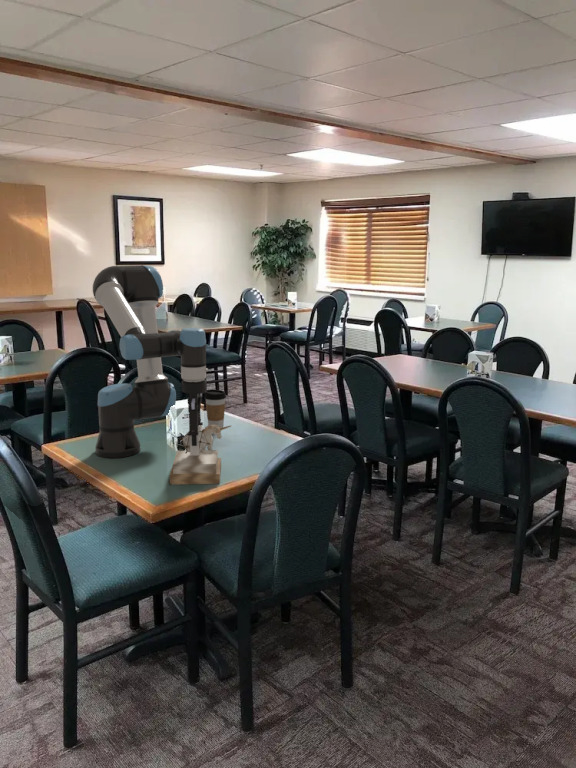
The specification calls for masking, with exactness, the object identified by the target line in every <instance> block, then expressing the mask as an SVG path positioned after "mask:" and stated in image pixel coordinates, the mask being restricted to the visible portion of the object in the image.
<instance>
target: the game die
mask: <svg viewBox="0 0 576 768" xmlns="http://www.w3.org/2000/svg"><path fill="white" fill-rule="evenodd" d="M203 431H204V429H203V430H202V431H200V430H198V433H199V453H200V452H201V451H202V450H203V448H204V447H205V446H206V445H207V444H208V445H210V443H208V442H207V440H206V437H205V435H204V433H203ZM187 433H189V431H188V432H187ZM187 433H186V434H185V435H184V436H183V437H182V438H181V437H180V438H178V439H179V440H181V441H182V443H183V444H182V445H183V446H184V449H185V451H186V452H185V454H186V453H187V452H190V435H189V436H187ZM206 447H207V446H206ZM199 455H200V454H199Z"/></svg>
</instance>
